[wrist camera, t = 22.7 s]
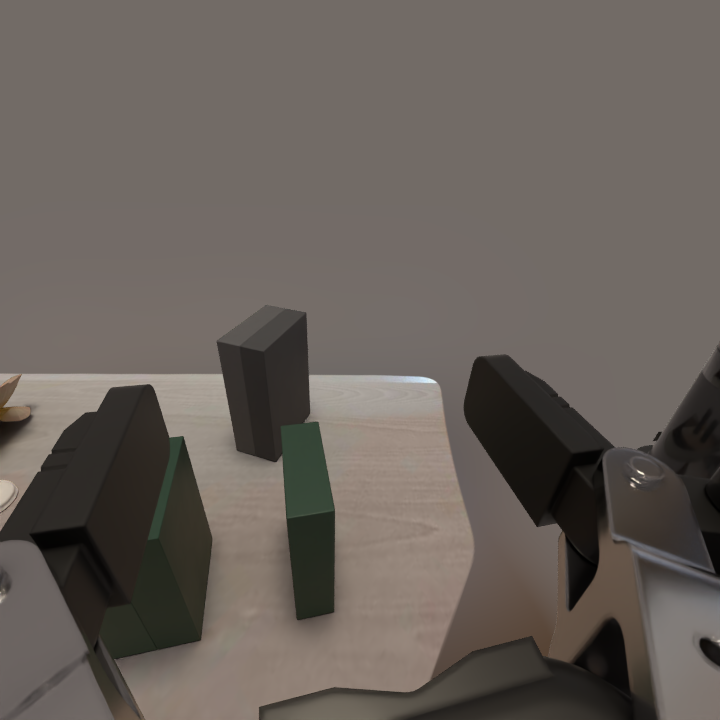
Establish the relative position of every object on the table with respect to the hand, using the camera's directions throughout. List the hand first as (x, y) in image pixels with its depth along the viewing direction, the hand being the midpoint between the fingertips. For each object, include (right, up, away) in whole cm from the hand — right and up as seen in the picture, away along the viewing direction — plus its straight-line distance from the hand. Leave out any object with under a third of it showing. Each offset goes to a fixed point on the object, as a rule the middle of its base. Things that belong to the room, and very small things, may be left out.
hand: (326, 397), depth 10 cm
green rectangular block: (-16, -20, +24) cm, 35 cm away
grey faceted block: (-11, -9, +42) cm, 44 cm away
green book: (-4, -19, +26) cm, 32 cm away
